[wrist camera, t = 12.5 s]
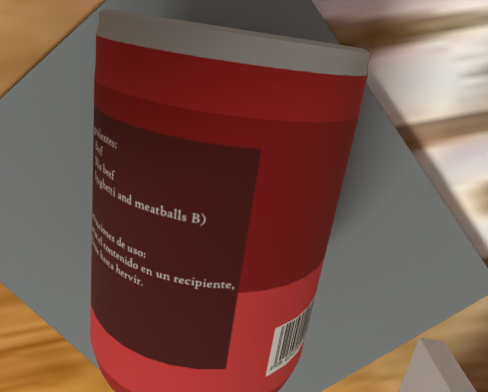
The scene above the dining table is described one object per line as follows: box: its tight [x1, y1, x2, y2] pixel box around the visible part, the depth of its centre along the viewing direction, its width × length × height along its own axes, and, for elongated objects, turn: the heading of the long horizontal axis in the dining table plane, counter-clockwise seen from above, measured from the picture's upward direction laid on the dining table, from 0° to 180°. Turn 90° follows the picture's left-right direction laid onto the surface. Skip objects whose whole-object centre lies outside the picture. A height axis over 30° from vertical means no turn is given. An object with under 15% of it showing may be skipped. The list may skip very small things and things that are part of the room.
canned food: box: [90, 9, 370, 392], centre depth 14 cm, size 8×8×11 cm
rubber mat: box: [0, 0, 488, 392], centre depth 20 cm, size 20×18×1 cm
